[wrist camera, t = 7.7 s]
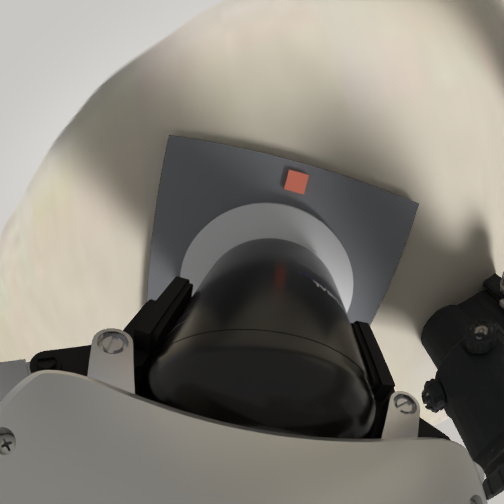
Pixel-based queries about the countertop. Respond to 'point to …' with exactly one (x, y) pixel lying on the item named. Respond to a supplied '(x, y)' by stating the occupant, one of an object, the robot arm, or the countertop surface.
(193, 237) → the mount plate
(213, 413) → the supplement bottle
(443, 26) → the countertop surface
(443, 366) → the scope
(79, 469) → the robot arm
